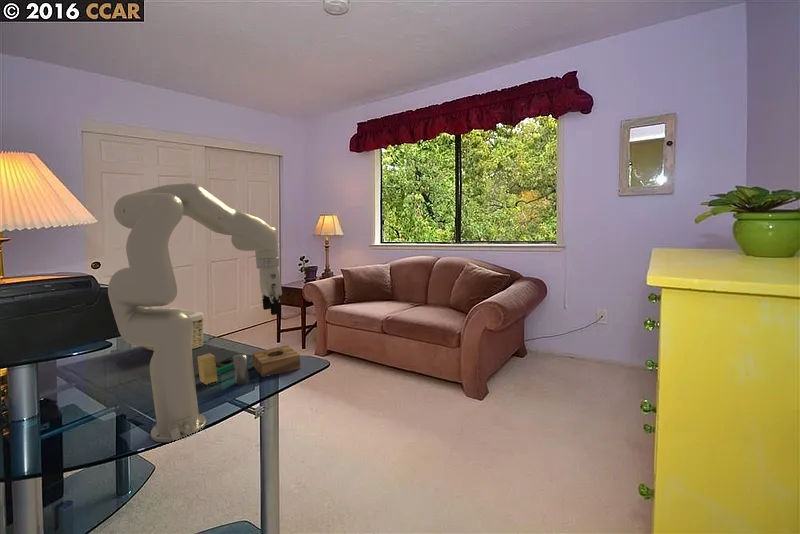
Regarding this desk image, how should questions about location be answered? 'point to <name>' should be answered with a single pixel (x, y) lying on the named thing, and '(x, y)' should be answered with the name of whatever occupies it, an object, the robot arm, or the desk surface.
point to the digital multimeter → (225, 365)
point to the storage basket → (197, 328)
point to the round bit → (240, 369)
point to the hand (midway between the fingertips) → (271, 311)
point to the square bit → (207, 368)
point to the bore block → (276, 360)
